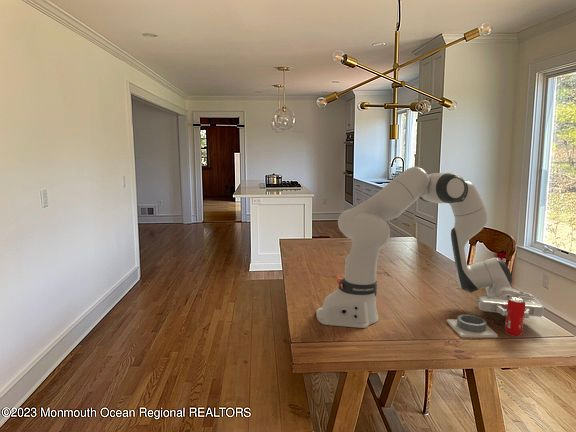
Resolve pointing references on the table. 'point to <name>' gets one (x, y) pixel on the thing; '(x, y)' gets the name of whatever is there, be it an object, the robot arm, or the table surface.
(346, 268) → the robot arm
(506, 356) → the table surface
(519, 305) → the beverage can
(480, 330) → the mount
